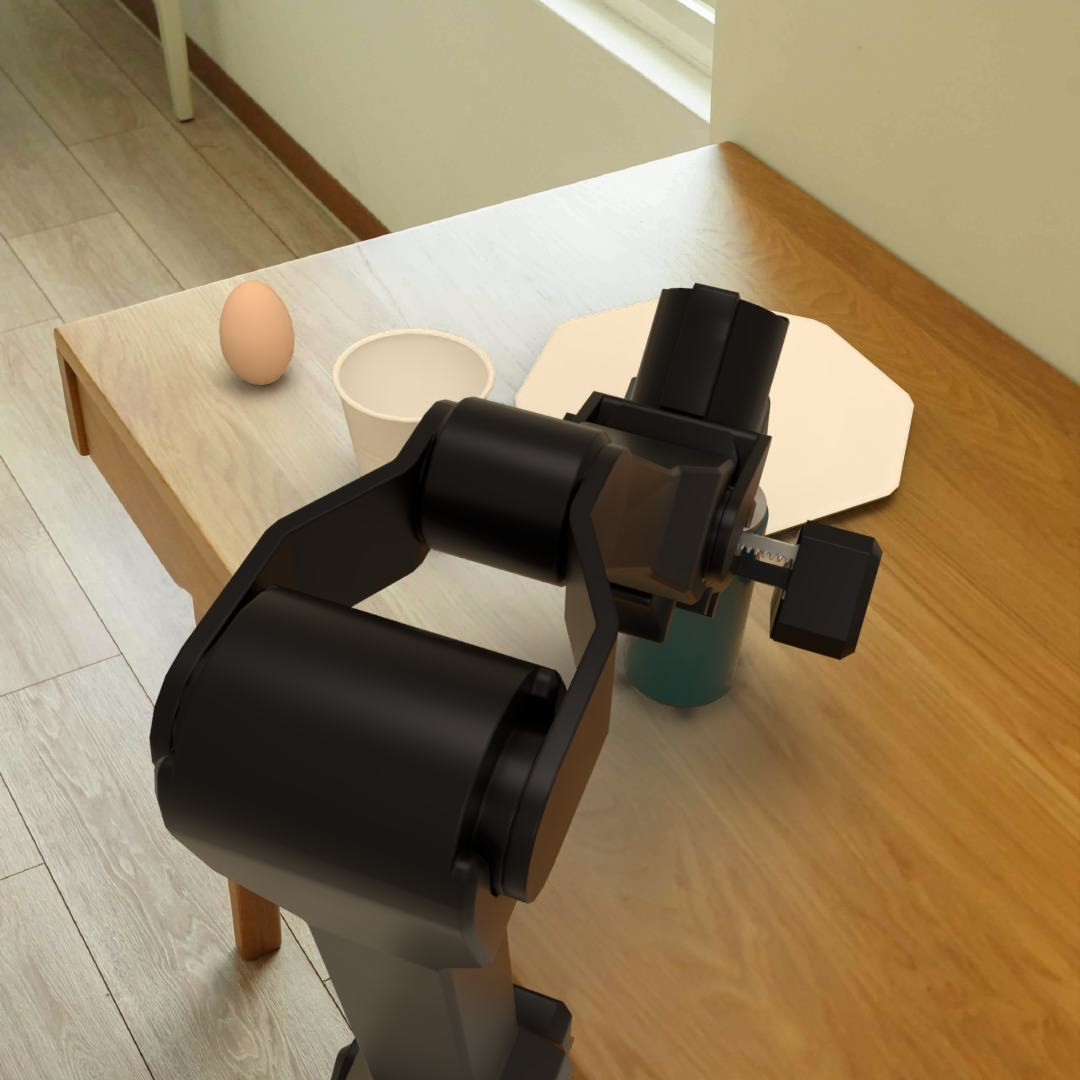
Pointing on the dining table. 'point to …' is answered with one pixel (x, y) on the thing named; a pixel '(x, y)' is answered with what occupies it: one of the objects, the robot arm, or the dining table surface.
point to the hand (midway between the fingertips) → (700, 564)
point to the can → (698, 642)
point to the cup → (403, 386)
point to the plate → (795, 411)
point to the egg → (256, 333)
